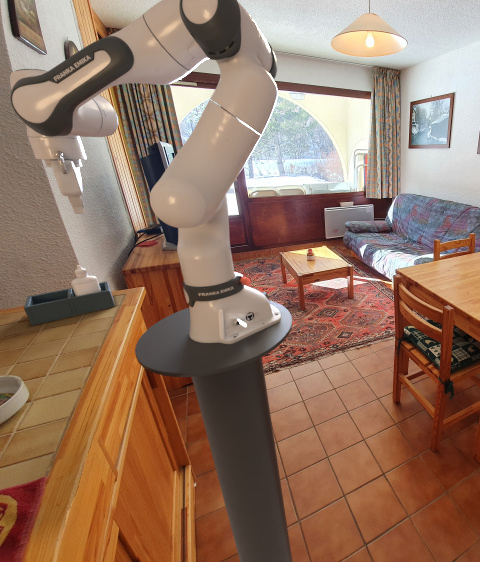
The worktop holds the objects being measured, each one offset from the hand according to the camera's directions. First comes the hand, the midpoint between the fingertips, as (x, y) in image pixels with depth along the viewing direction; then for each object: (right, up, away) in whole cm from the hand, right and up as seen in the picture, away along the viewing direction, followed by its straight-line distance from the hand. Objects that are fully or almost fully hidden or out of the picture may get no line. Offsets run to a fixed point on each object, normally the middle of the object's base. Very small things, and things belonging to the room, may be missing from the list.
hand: (80, 210), depth 78 cm
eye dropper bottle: (-10, -25, +14) cm, 30 cm away
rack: (-13, -26, +12) cm, 32 cm away
